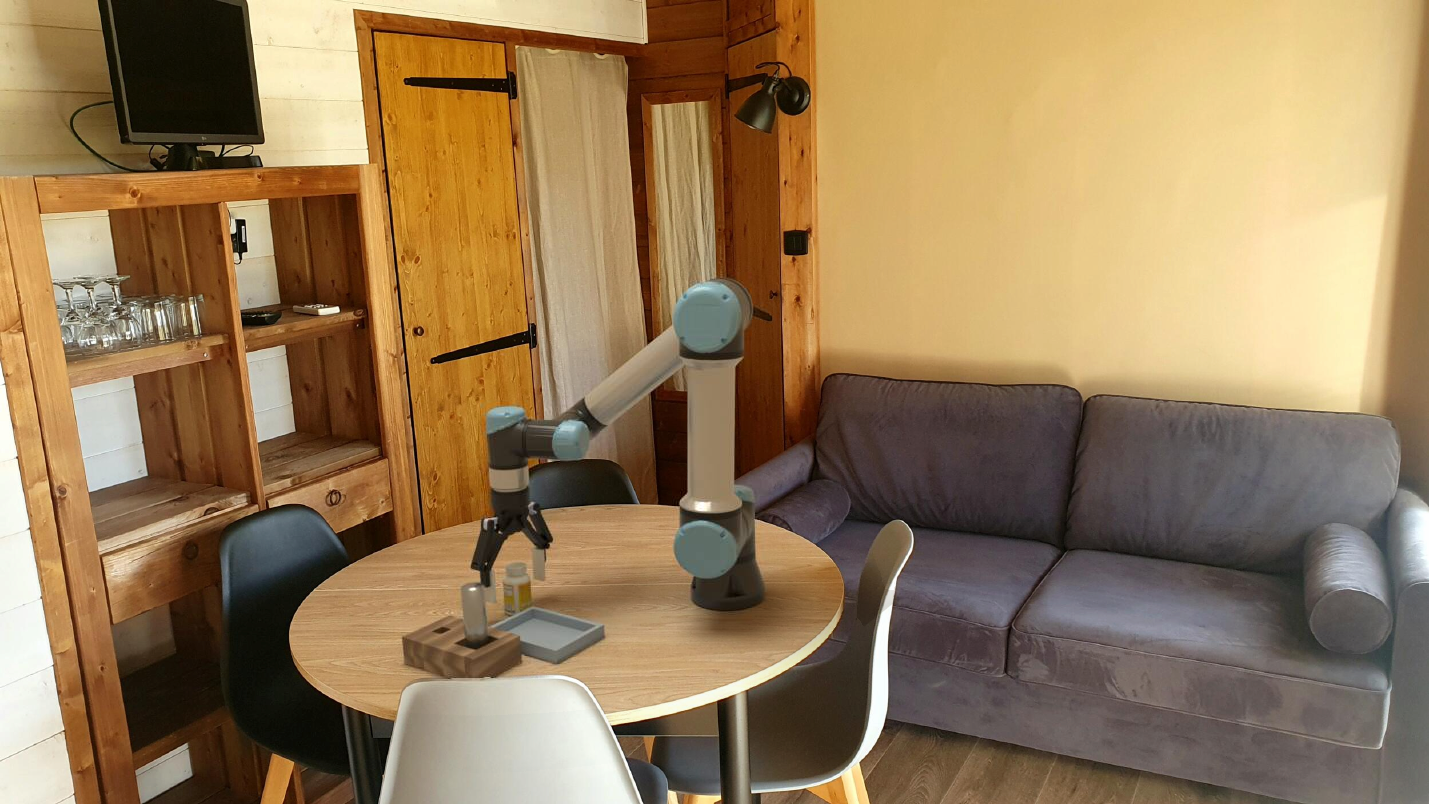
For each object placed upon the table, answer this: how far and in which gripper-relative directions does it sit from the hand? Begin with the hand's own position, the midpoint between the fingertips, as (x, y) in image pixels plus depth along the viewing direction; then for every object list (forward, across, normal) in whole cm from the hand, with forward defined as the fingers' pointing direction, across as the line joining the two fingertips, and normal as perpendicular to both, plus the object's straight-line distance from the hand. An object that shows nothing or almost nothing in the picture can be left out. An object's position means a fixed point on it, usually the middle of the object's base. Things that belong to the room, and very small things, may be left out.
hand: (515, 590), depth 205 cm
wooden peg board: (+4, +22, +8) cm, 24 cm away
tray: (+4, +7, +14) cm, 17 cm away
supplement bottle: (+5, 0, 0) cm, 5 cm away
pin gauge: (+4, +22, +12) cm, 25 cm away
